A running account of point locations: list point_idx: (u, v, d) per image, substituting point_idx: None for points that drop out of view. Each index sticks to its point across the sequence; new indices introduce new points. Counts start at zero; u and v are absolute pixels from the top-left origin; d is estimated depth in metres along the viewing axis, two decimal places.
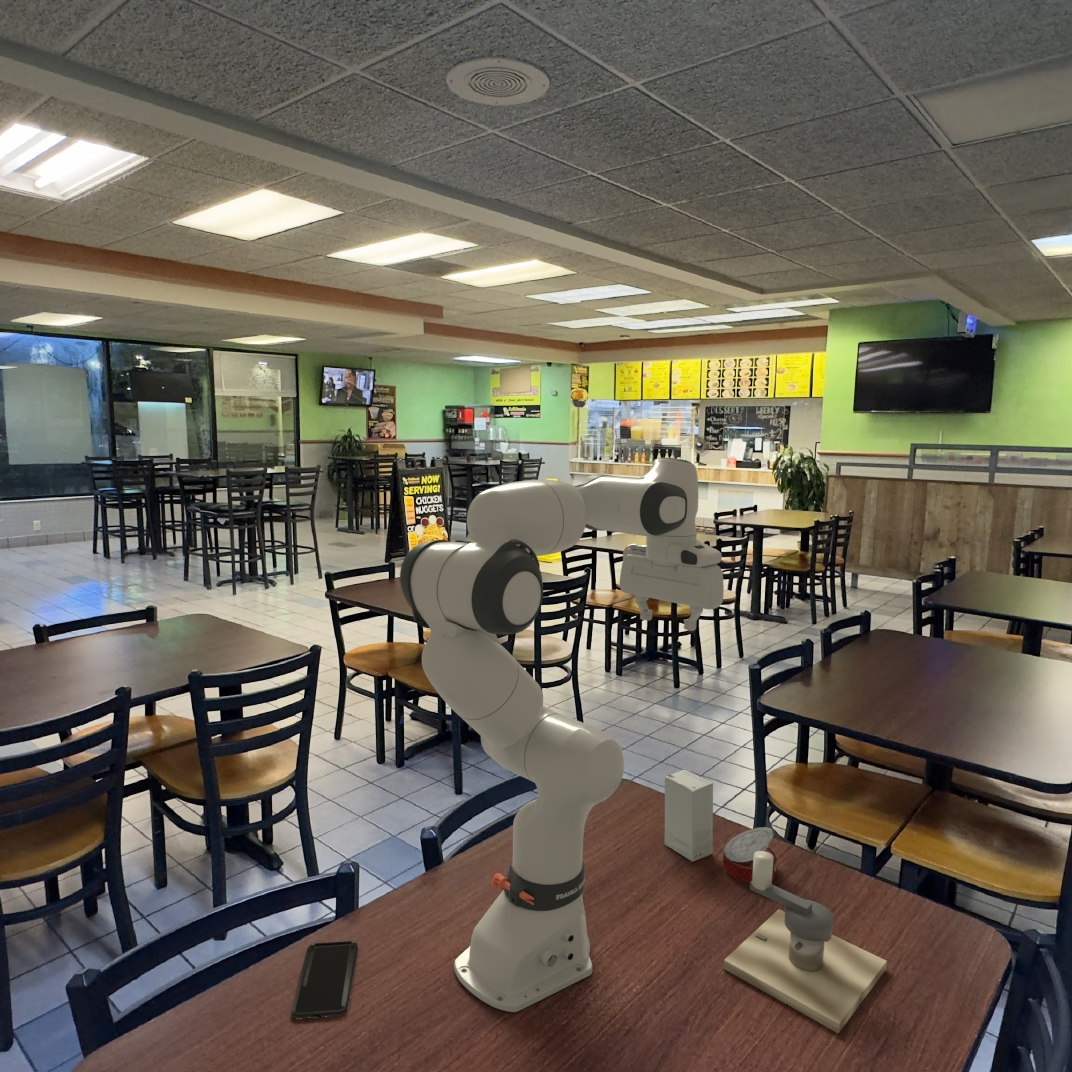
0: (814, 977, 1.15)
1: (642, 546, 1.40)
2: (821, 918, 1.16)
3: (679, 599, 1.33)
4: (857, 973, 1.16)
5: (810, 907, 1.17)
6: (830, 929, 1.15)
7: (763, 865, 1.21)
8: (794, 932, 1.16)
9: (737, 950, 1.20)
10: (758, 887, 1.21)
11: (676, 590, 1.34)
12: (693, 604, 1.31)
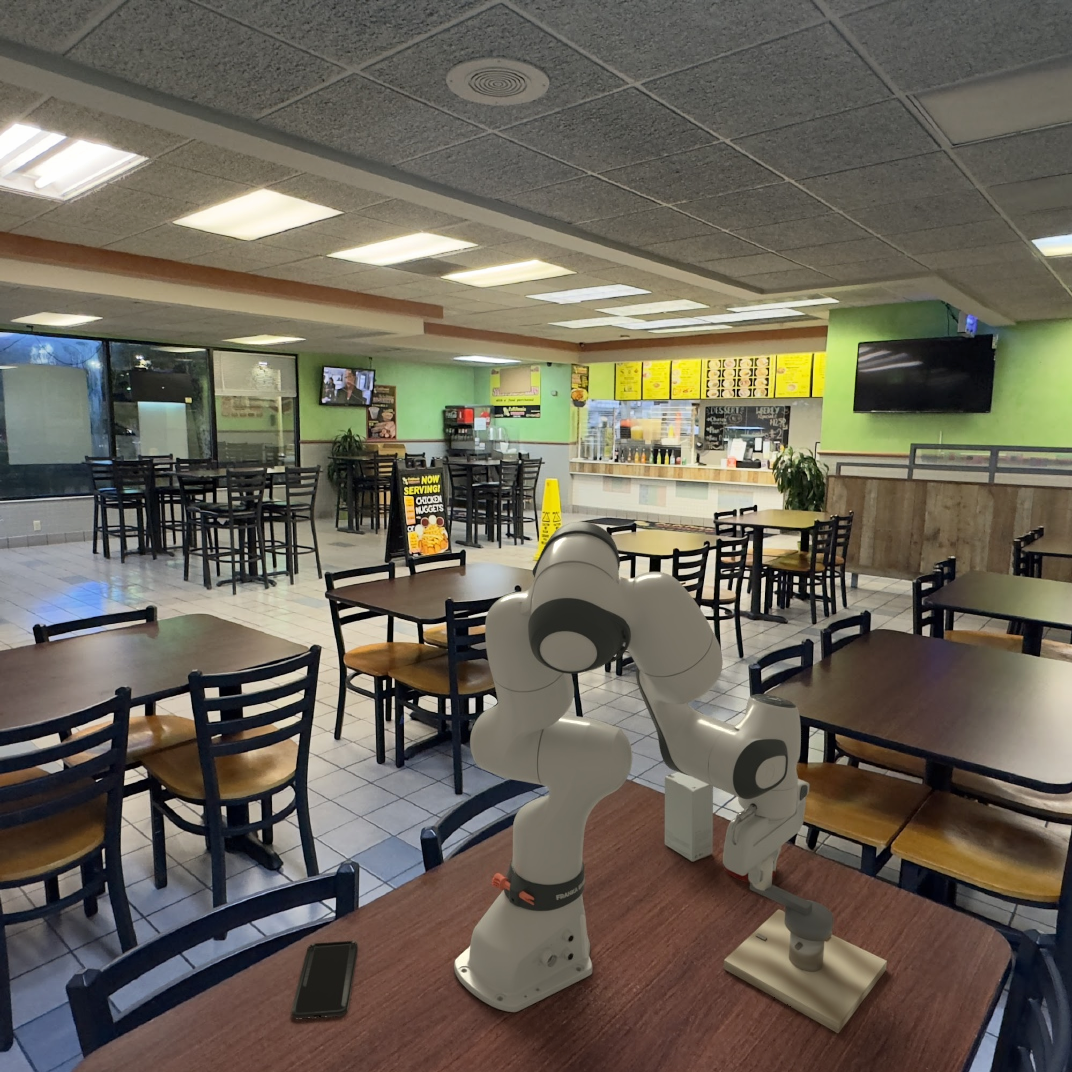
0: (814, 977, 1.15)
1: (750, 809, 1.16)
2: (821, 918, 1.16)
3: (785, 839, 1.23)
4: (857, 973, 1.16)
5: (810, 907, 1.17)
6: (830, 929, 1.15)
7: (763, 865, 1.21)
8: (794, 932, 1.16)
9: (737, 950, 1.20)
10: (758, 887, 1.21)
11: (783, 832, 1.22)
12: (792, 835, 1.25)
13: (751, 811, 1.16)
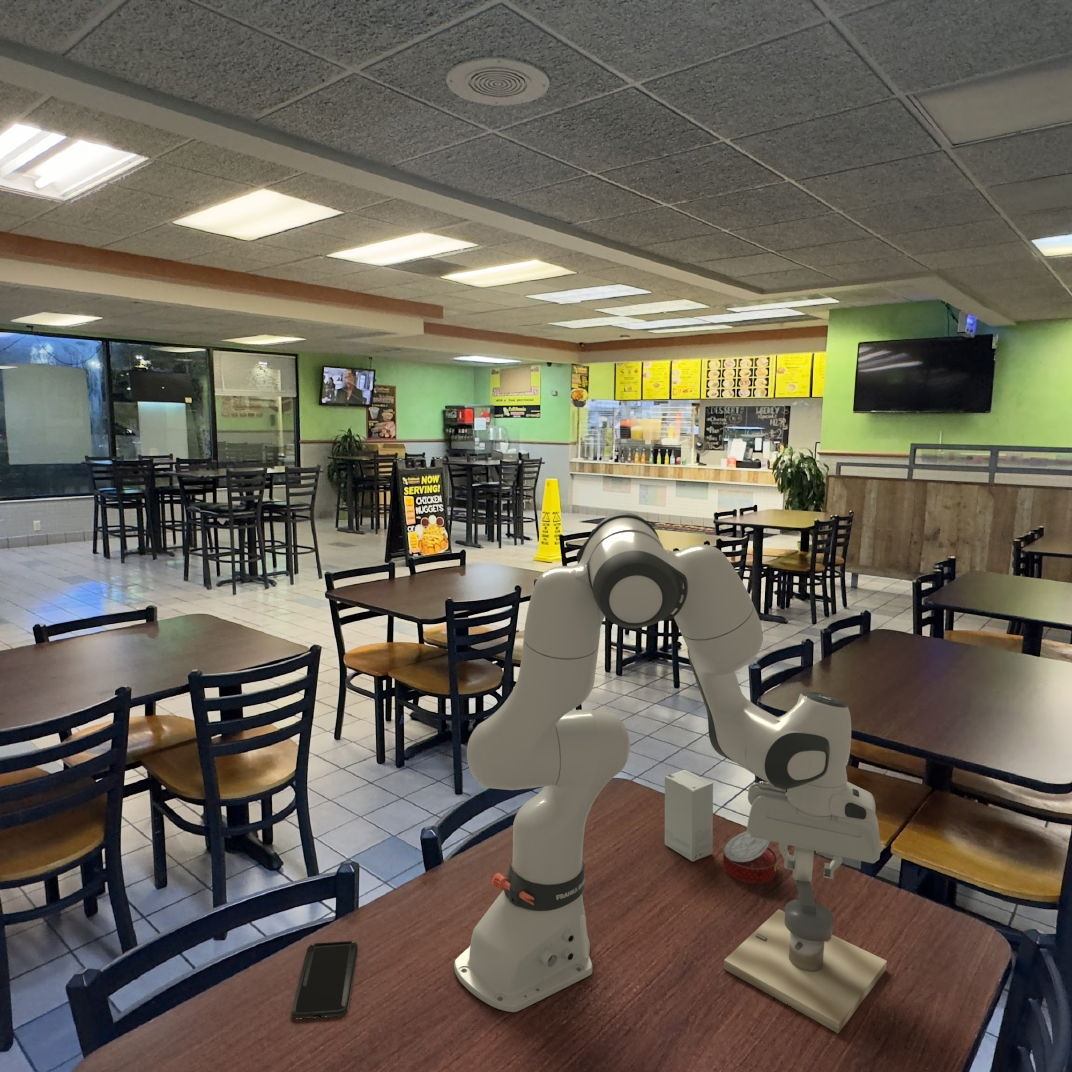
0: (814, 977, 1.15)
1: (777, 786, 1.24)
2: (811, 921, 1.15)
3: (834, 850, 1.21)
4: (857, 973, 1.16)
5: (811, 908, 1.17)
6: (811, 932, 1.14)
7: (795, 854, 1.24)
8: None
9: (737, 950, 1.20)
10: None
11: (830, 841, 1.21)
12: (854, 857, 1.20)
13: (776, 788, 1.24)
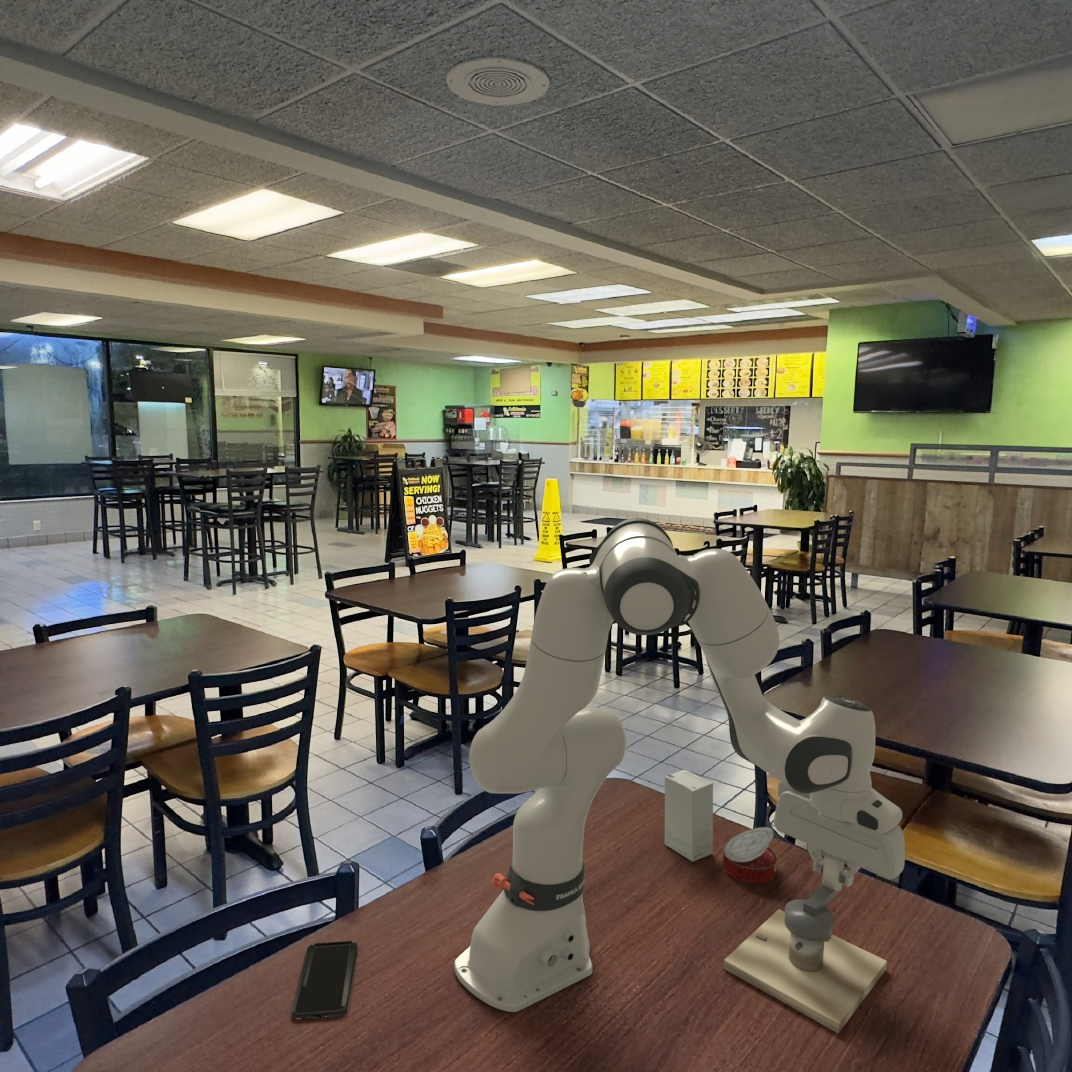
0: (814, 977, 1.15)
1: None
2: (803, 918, 1.16)
3: (851, 858, 1.18)
4: (857, 973, 1.16)
5: (811, 909, 1.17)
6: (797, 928, 1.15)
7: None
8: None
9: (737, 950, 1.20)
10: None
11: (848, 848, 1.18)
12: (870, 869, 1.16)
13: None
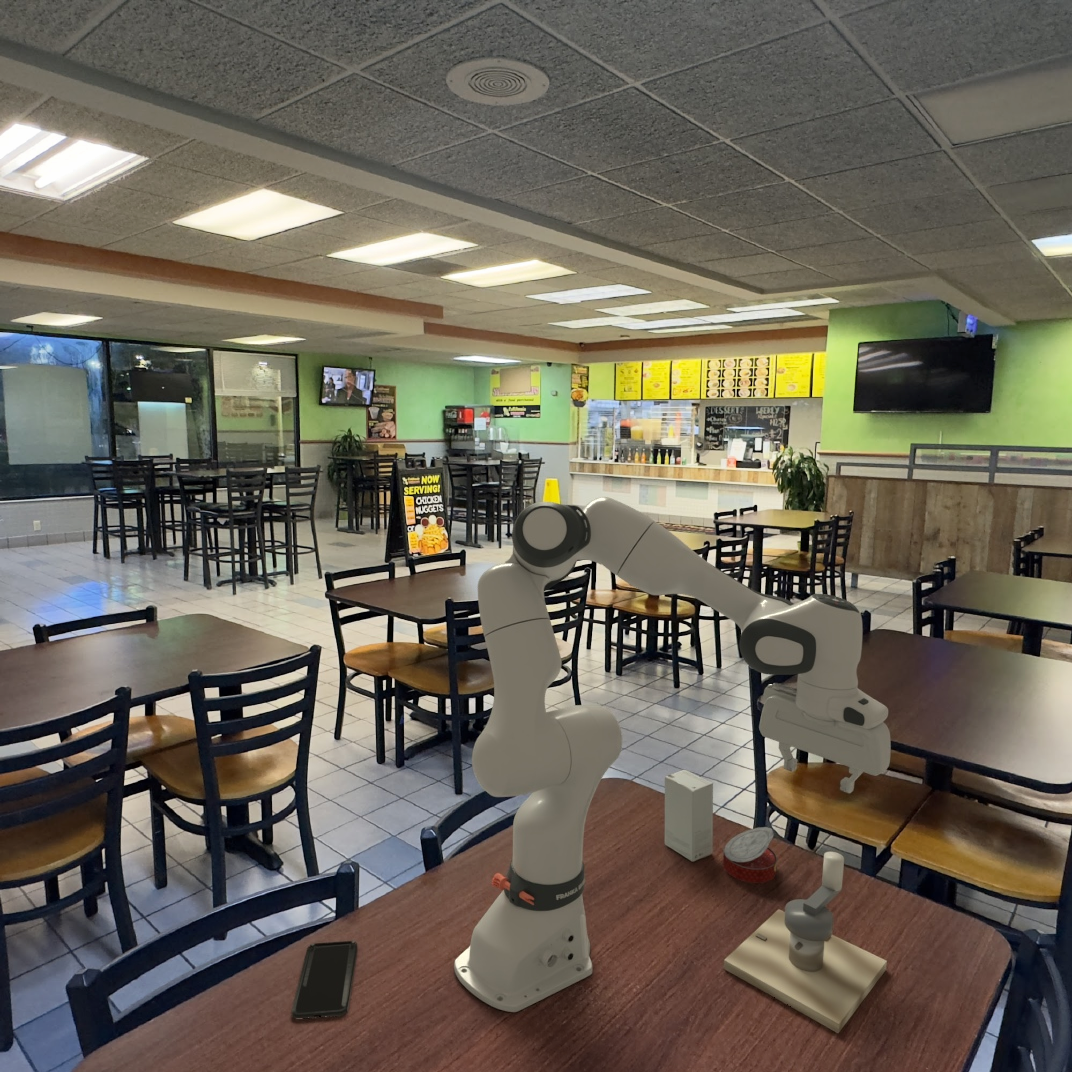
0: (814, 977, 1.15)
1: (789, 688, 1.24)
2: (803, 918, 1.16)
3: (837, 758, 1.17)
4: (857, 973, 1.16)
5: (811, 909, 1.17)
6: (797, 928, 1.15)
7: None
8: None
9: (737, 950, 1.20)
10: None
11: (833, 747, 1.18)
12: (855, 766, 1.16)
13: (788, 690, 1.24)
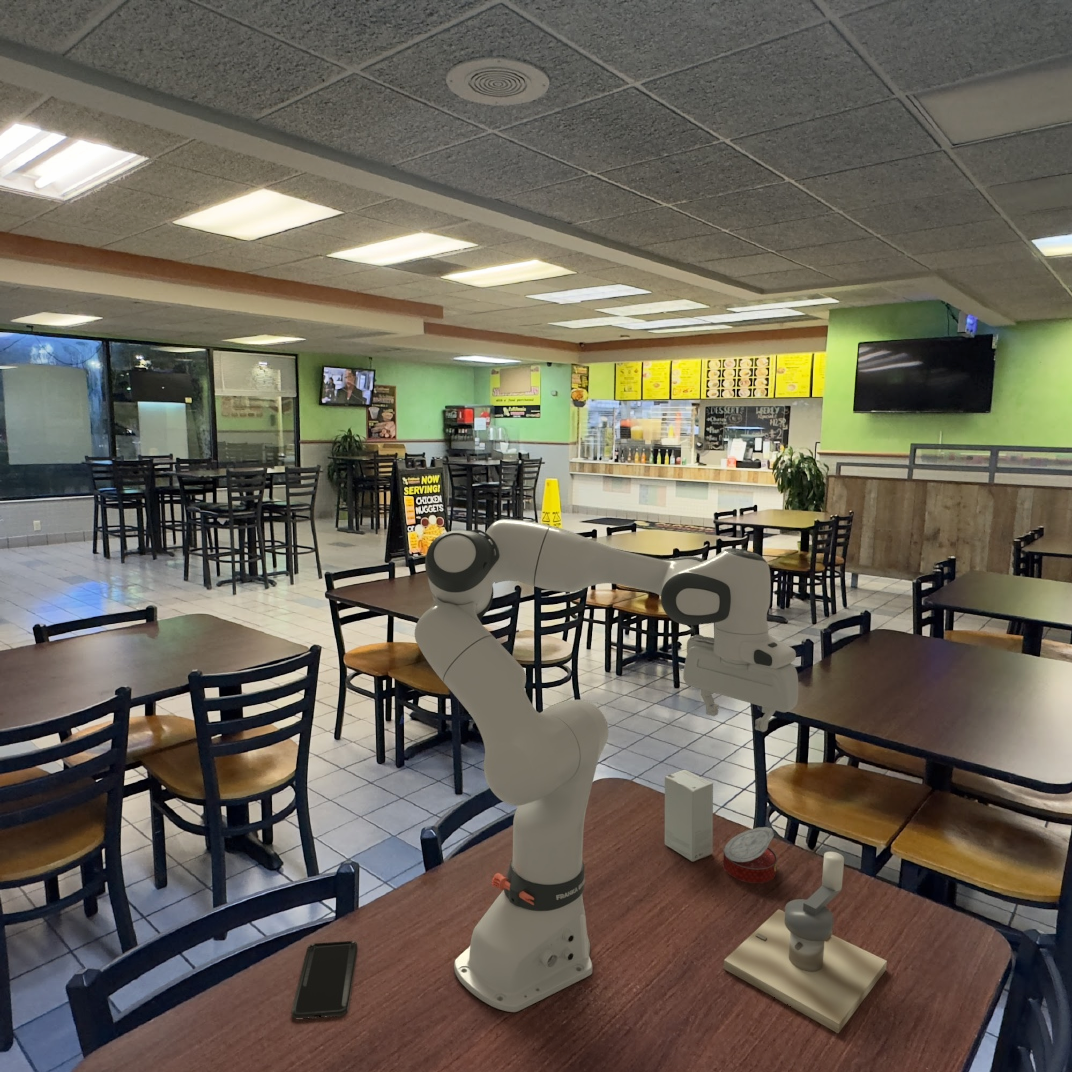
0: (814, 977, 1.15)
1: (708, 638, 1.33)
2: (803, 918, 1.16)
3: (750, 699, 1.27)
4: (857, 973, 1.16)
5: (811, 909, 1.17)
6: (797, 928, 1.15)
7: None
8: None
9: (737, 950, 1.20)
10: None
11: (747, 689, 1.27)
12: (767, 705, 1.25)
13: (707, 640, 1.33)
